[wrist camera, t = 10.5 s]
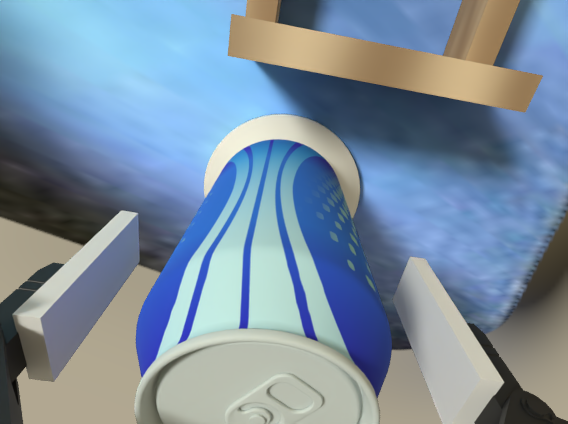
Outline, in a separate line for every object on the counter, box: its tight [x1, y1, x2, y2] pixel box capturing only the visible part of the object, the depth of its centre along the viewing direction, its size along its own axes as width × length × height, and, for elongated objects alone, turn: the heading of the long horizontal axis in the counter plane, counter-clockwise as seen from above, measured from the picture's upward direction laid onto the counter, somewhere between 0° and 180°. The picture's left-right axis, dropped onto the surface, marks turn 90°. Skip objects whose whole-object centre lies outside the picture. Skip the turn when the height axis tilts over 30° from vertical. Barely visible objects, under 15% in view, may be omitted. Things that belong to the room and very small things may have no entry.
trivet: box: [204, 114, 360, 219], centre depth 23 cm, size 11×11×1 cm
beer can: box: [134, 139, 392, 424], centre depth 16 cm, size 8×8×16 cm
